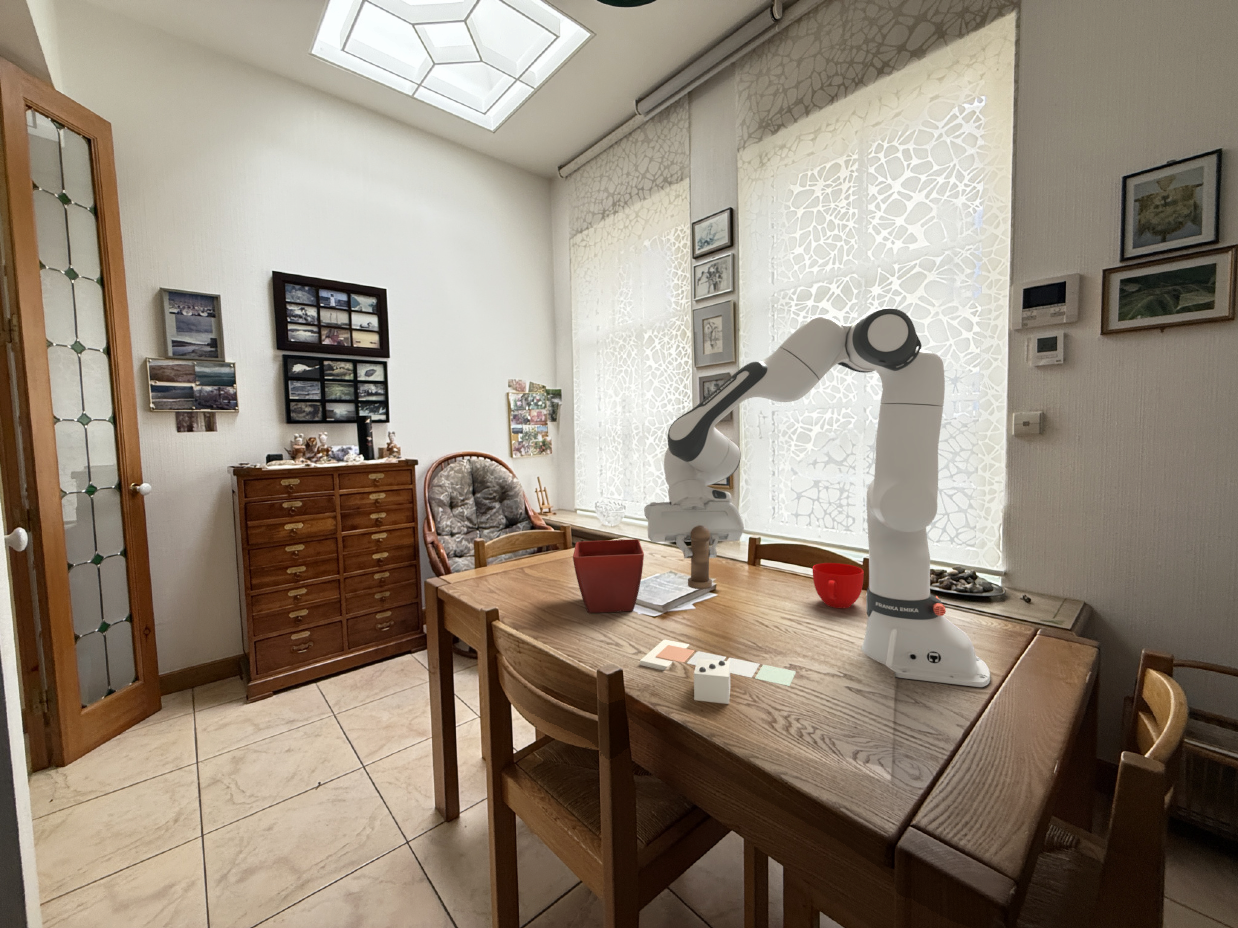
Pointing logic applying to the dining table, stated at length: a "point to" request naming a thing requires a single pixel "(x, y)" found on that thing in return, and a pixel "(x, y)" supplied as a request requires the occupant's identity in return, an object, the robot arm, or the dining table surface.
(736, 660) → the game board
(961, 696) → the dining table surface
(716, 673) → the die
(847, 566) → the ceramic cup
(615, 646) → the dining table surface
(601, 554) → the plant pot
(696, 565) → the pawn
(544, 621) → the dining table surface
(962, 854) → the dining table surface
